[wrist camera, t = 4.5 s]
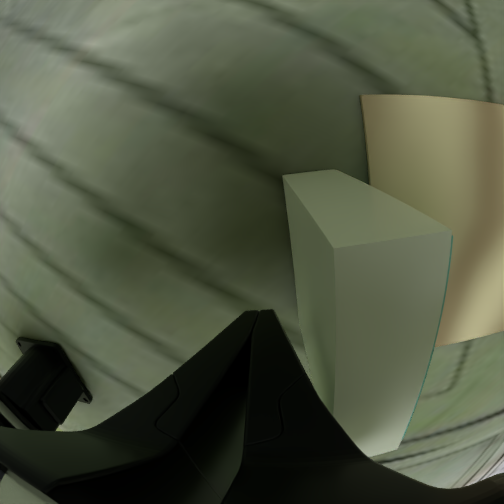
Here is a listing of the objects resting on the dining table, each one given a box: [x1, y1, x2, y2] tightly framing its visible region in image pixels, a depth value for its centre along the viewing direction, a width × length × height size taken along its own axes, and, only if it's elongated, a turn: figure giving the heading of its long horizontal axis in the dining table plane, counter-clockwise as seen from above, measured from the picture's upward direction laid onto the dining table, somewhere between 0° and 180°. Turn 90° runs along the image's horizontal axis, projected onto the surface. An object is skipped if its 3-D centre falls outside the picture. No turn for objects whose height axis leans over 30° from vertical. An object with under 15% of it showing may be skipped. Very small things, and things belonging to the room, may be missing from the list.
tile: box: [282, 169, 453, 457], centre depth 9 cm, size 2×7×8 cm, turn 9°
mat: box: [360, 95, 504, 347], centre depth 12 cm, size 11×13×1 cm
